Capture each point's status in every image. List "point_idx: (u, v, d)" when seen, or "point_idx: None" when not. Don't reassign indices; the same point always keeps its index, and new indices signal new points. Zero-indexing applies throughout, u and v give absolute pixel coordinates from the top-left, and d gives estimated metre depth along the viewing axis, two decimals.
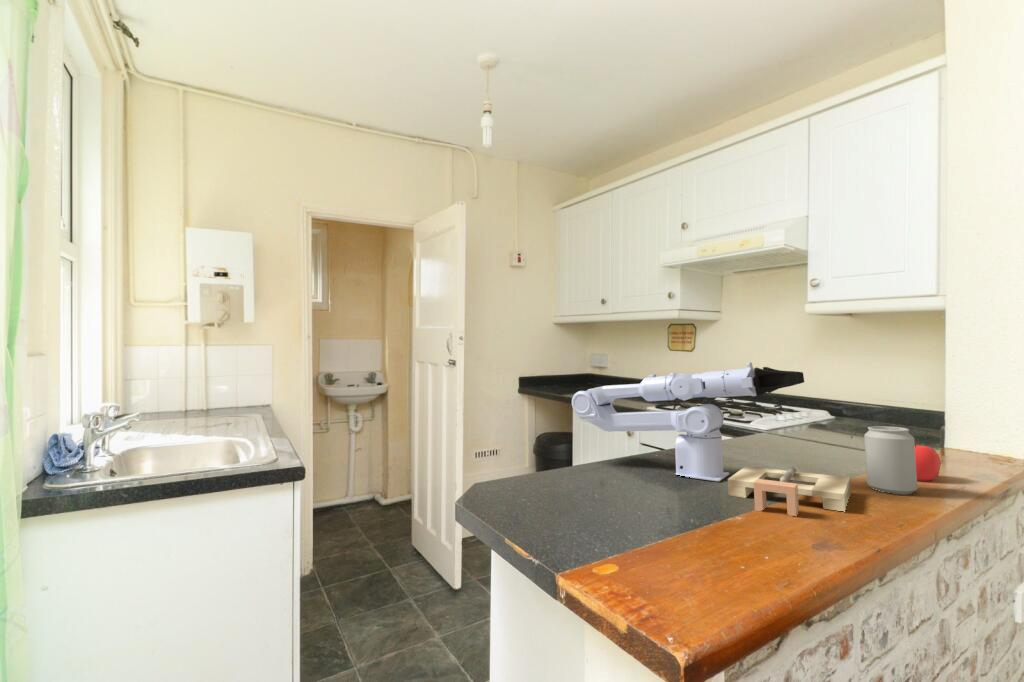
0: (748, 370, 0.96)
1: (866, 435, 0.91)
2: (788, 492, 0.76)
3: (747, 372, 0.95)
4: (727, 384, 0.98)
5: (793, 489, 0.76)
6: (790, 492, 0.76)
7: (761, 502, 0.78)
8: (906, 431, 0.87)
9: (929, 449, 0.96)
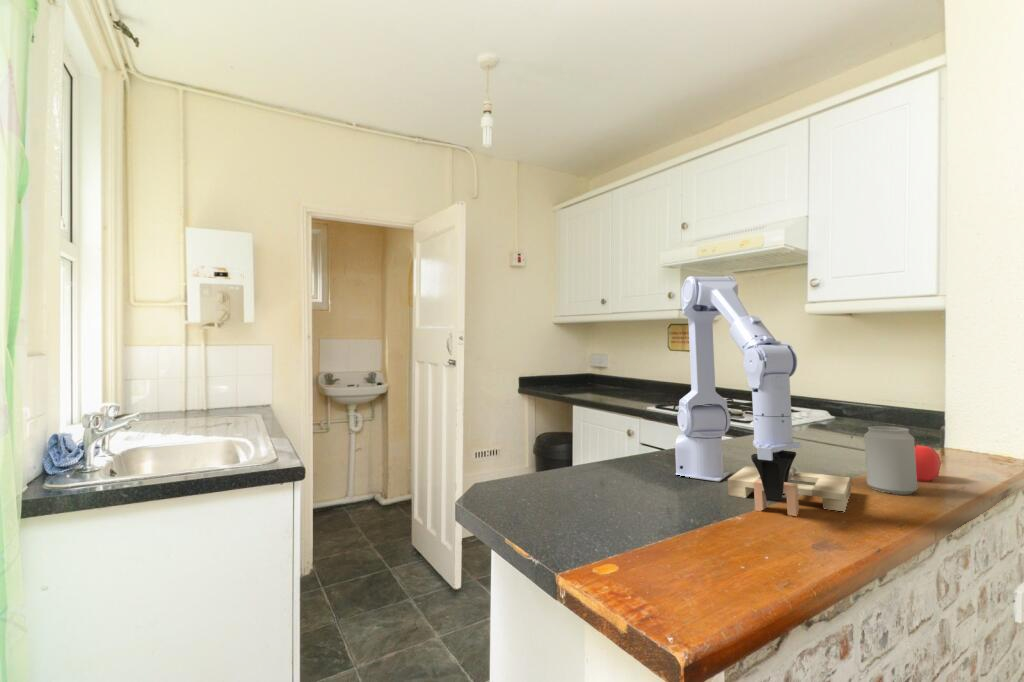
0: (787, 447, 0.76)
1: (866, 435, 0.91)
2: (788, 492, 0.76)
3: (783, 448, 0.75)
4: (767, 420, 0.77)
5: (793, 489, 0.76)
6: (790, 492, 0.76)
7: (761, 502, 0.78)
8: (906, 431, 0.87)
9: (929, 449, 0.96)
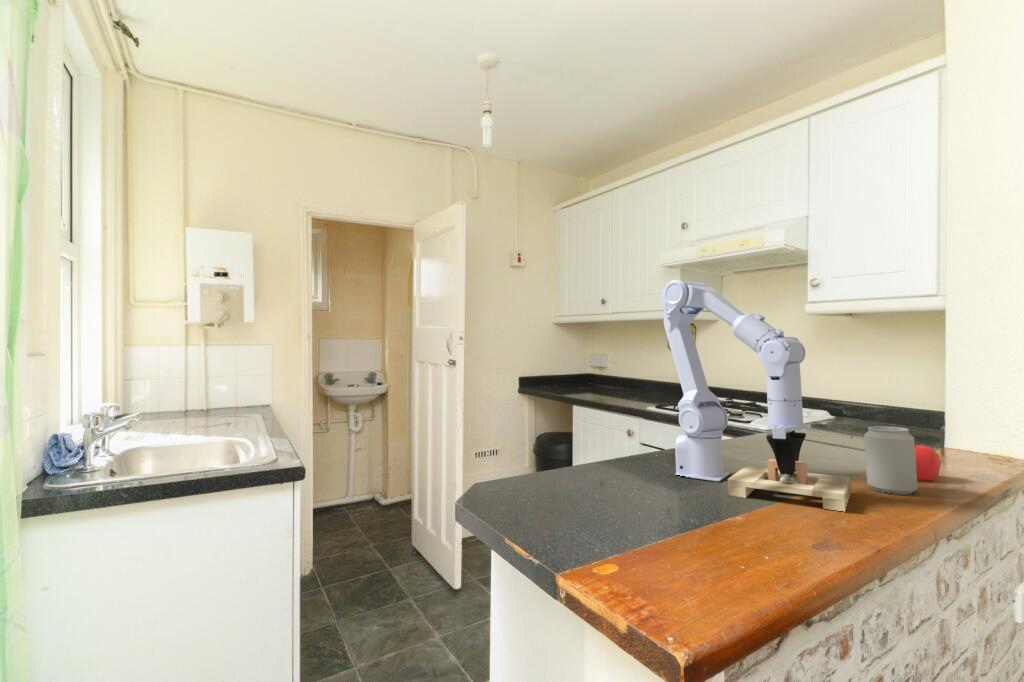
0: (798, 428, 0.85)
1: (866, 435, 0.91)
2: (798, 468, 0.86)
3: (794, 429, 0.85)
4: (780, 404, 0.87)
5: (803, 465, 0.85)
6: (800, 468, 0.86)
7: (774, 478, 0.88)
8: (906, 431, 0.87)
9: (929, 449, 0.96)
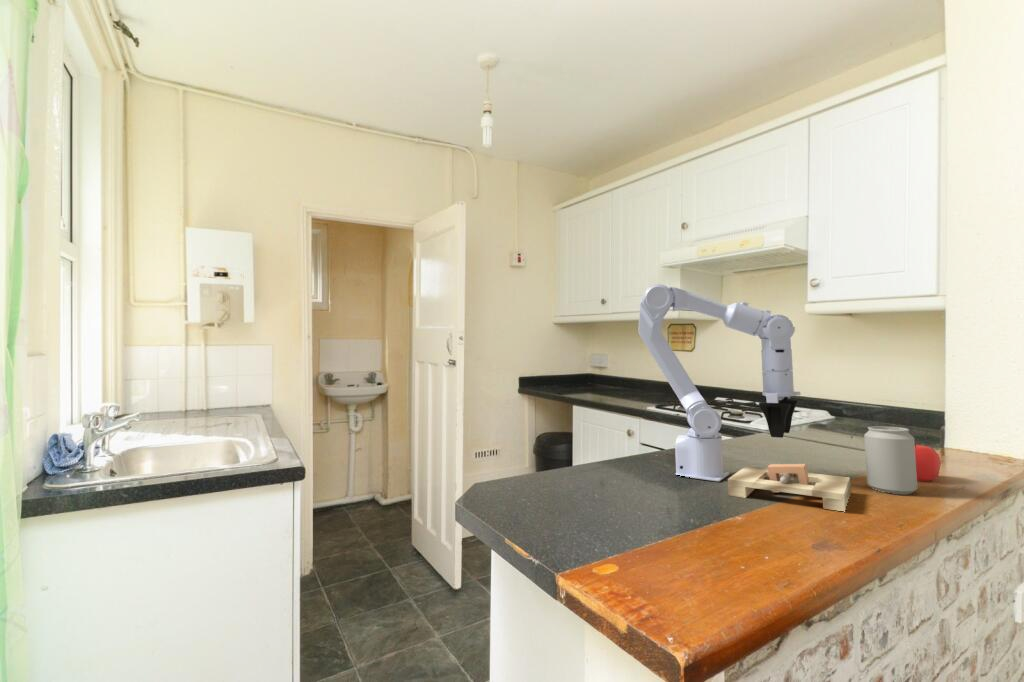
0: (789, 394, 0.97)
1: (866, 435, 0.91)
2: (799, 471, 0.86)
3: (786, 395, 0.96)
4: (773, 374, 0.98)
5: (803, 468, 0.85)
6: (800, 471, 0.86)
7: None
8: (906, 431, 0.87)
9: (929, 449, 0.96)
